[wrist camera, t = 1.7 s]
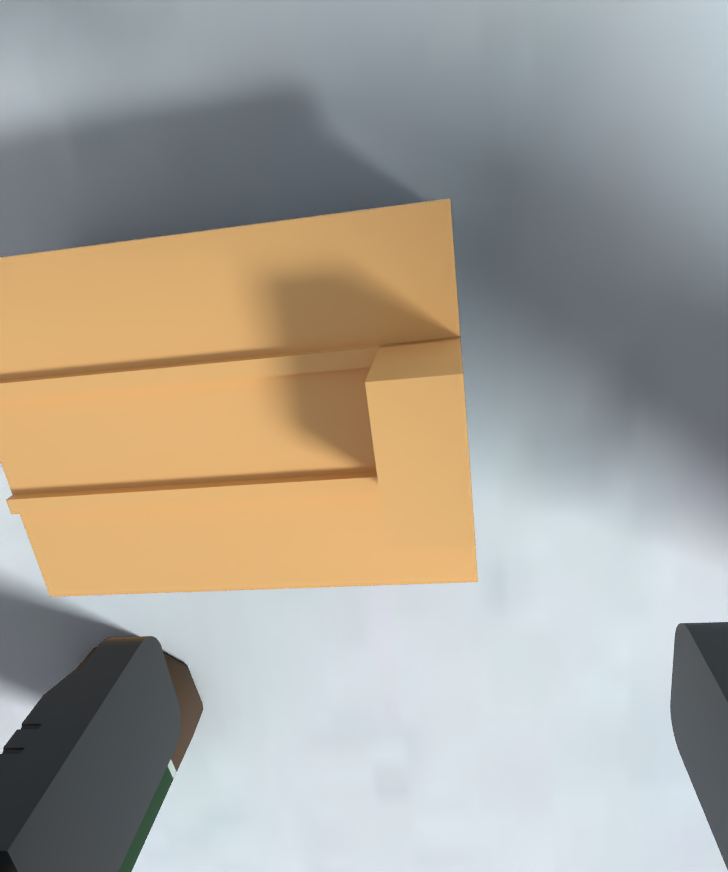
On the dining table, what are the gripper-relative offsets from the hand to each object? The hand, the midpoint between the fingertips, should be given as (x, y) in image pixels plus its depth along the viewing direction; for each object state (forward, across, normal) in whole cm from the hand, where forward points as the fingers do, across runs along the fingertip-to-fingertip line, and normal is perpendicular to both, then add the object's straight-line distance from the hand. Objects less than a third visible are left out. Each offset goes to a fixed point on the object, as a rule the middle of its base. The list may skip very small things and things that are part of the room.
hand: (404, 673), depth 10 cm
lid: (+14, +7, 0) cm, 16 cm away
